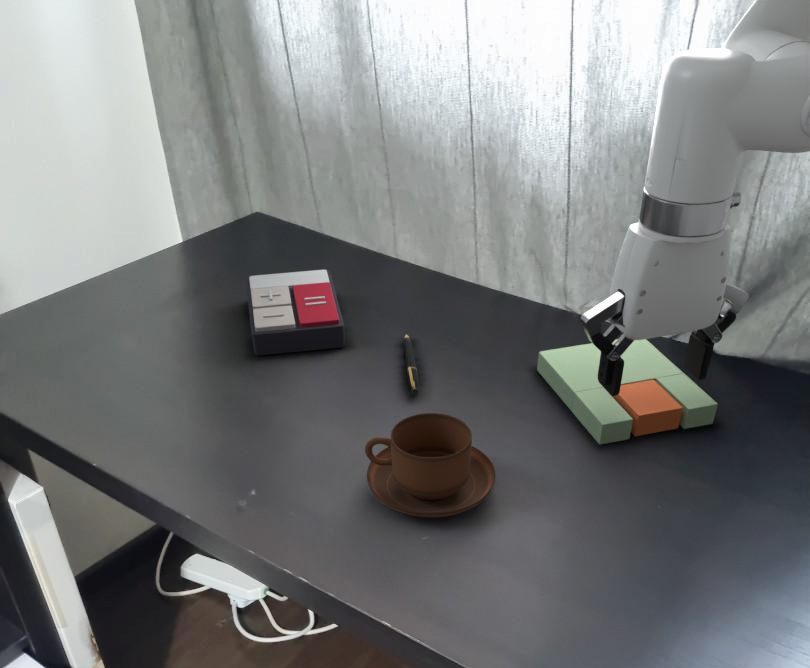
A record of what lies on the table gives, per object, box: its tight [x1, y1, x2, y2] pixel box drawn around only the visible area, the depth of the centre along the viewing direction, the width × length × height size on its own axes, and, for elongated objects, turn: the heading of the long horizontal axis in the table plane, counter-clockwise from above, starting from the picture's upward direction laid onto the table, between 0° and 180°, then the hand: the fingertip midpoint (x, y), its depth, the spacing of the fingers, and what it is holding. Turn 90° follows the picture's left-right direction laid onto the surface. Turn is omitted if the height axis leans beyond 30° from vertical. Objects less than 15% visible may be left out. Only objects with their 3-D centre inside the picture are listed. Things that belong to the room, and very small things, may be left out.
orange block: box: [612, 380, 683, 437], centre depth 86 cm, size 5×6×2 cm
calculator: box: [245, 269, 346, 357], centre depth 104 cm, size 11×4×15 cm
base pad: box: [536, 338, 719, 445], centre depth 90 cm, size 13×16×2 cm
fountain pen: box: [403, 333, 420, 396], centre depth 96 cm, size 14×1×2 cm, turn 4°
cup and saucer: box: [364, 412, 496, 519], centre depth 76 cm, size 12×12×6 cm
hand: (651, 381), depth 84 cm, fingers open, 9 cm apart
